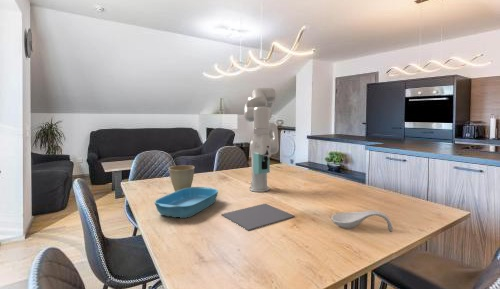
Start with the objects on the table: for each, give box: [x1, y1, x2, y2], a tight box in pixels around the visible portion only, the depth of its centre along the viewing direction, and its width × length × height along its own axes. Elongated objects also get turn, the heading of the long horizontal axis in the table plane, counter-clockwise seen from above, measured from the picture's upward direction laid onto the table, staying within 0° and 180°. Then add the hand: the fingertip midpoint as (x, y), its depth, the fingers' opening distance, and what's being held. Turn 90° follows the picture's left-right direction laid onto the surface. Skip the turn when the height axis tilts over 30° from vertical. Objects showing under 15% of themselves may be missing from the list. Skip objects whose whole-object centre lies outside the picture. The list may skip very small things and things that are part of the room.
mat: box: [221, 203, 296, 232], centre depth 133 cm, size 22×26×1 cm
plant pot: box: [168, 164, 196, 192], centre depth 170 cm, size 15×15×16 cm
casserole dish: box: [153, 186, 219, 219], centre depth 145 cm, size 37×22×7 cm, turn 158°
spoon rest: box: [330, 210, 393, 232], centre depth 119 cm, size 24×12×7 cm, turn 75°
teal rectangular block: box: [254, 153, 271, 174], centre depth 143 cm, size 4×7×10 cm, turn 126°
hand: (261, 168), depth 143 cm, fingers closed on teal rectangular block, 4 cm apart
